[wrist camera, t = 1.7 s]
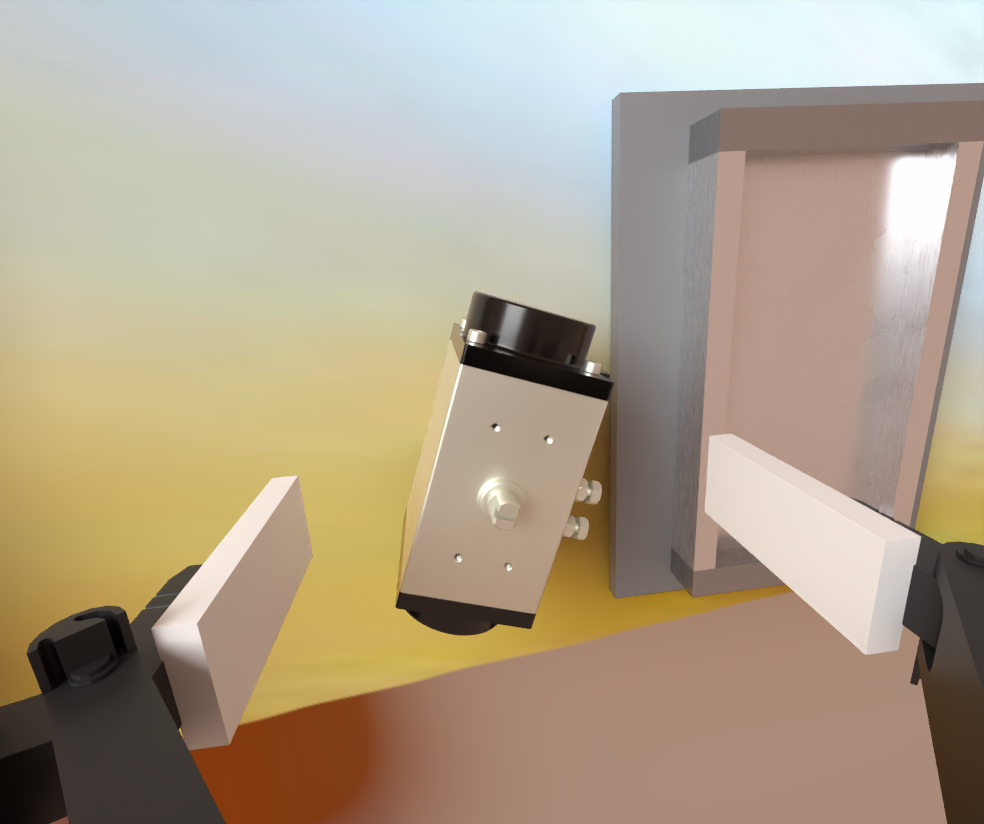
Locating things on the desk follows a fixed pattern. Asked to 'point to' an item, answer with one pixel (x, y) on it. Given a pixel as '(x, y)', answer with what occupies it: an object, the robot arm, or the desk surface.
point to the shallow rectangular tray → (816, 303)
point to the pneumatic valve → (501, 467)
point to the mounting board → (658, 302)
